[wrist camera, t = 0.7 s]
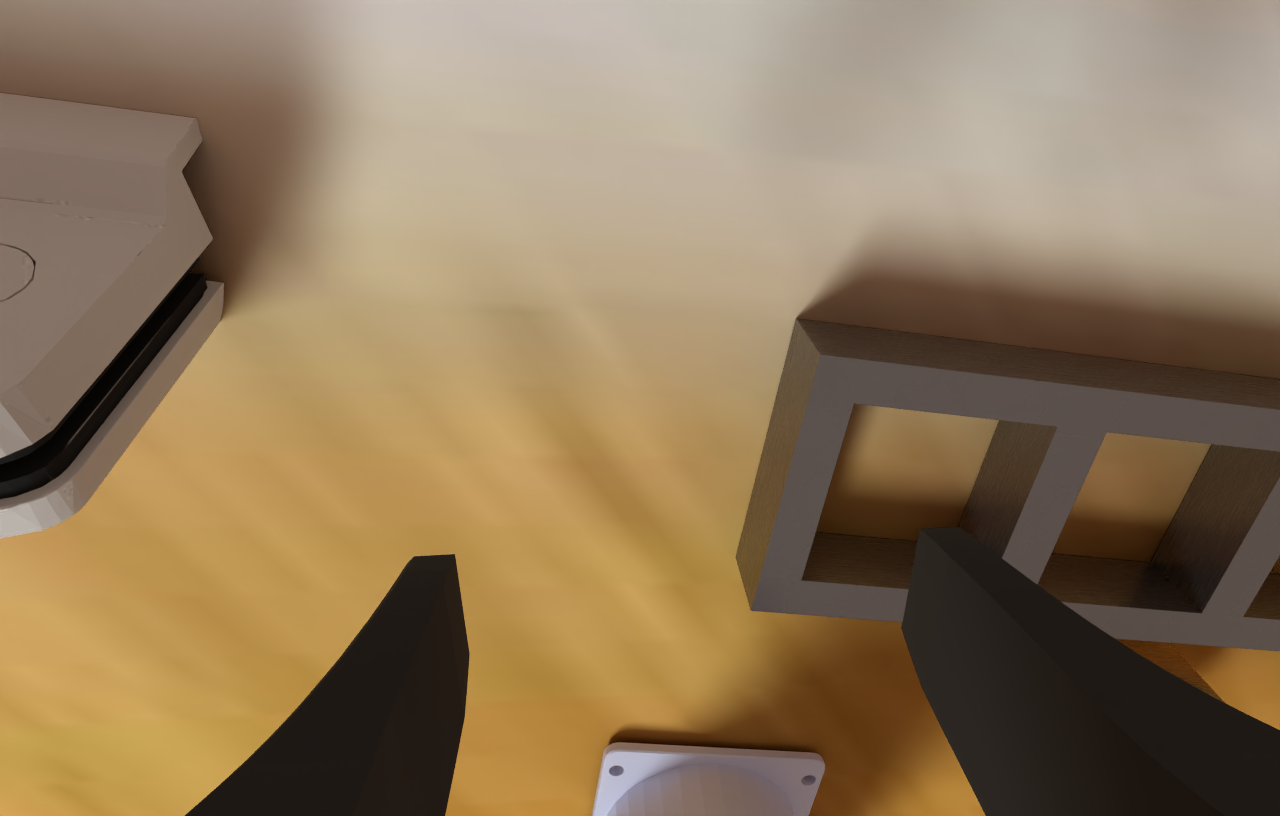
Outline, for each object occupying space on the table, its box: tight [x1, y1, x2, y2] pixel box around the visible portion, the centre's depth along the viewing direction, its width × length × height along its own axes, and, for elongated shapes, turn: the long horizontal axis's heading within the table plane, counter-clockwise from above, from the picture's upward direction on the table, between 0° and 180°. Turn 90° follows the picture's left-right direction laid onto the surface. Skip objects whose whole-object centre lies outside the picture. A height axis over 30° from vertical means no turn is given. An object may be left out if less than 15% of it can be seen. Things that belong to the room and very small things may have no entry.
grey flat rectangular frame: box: [736, 319, 1280, 651], centre depth 25 cm, size 8×22×2 cm, turn 81°
